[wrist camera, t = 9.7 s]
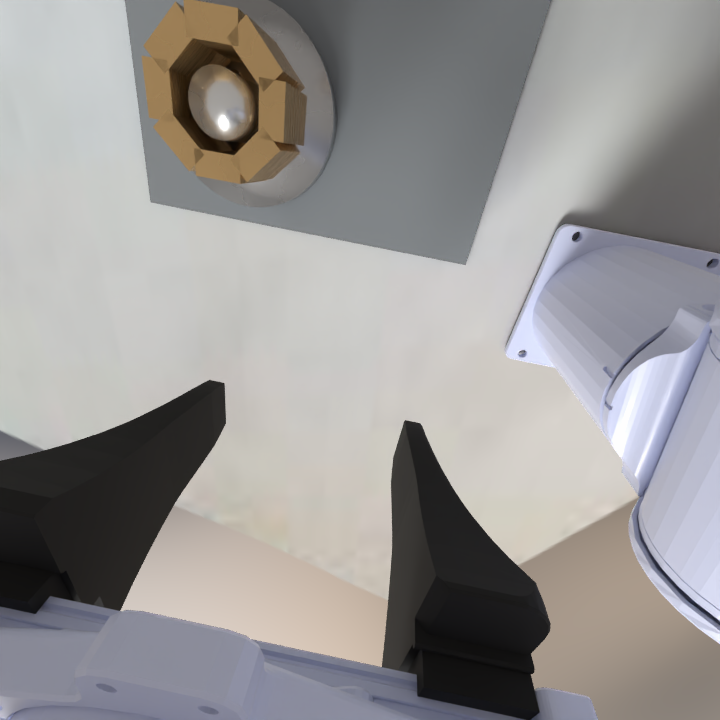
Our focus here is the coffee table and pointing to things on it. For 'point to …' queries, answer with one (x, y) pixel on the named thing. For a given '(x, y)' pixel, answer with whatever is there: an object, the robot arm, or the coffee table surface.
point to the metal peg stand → (241, 108)
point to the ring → (221, 46)
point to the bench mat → (384, 119)
